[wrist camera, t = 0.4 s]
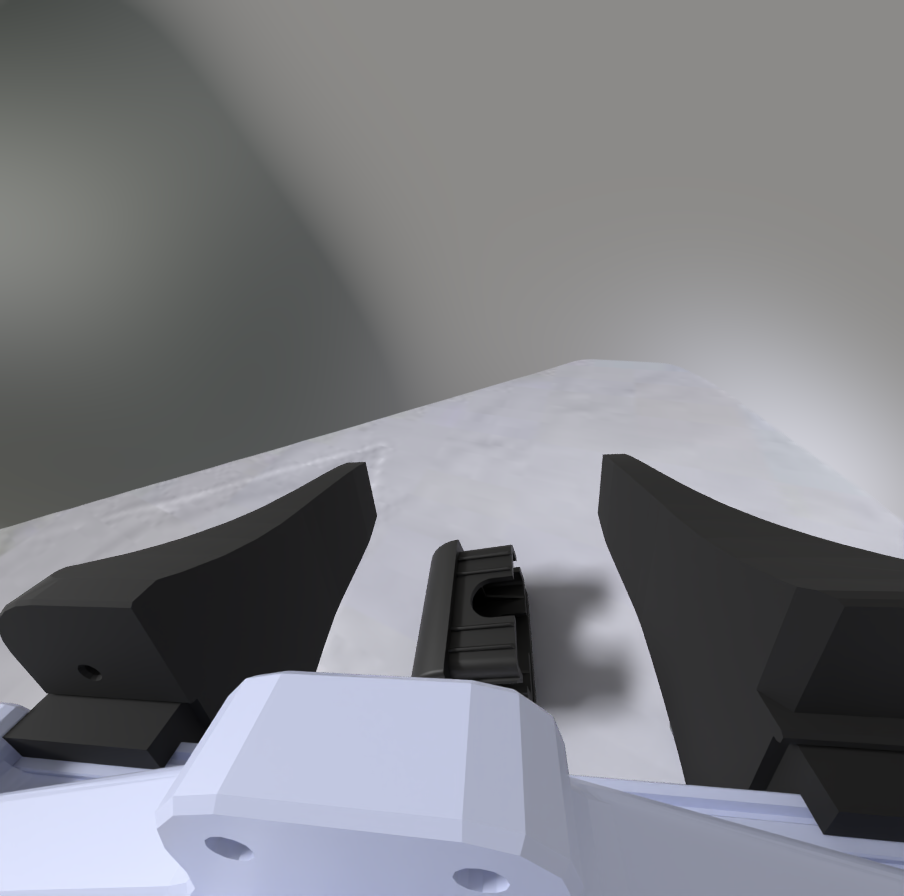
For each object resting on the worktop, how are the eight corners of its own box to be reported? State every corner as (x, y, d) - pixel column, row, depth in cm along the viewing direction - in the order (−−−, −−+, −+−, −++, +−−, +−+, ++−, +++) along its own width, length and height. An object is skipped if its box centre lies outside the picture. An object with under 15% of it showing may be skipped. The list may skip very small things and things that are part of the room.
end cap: (447, 593, 33) (421, 543, 30) (527, 585, 32) (508, 530, 28) (432, 725, 25) (393, 677, 22) (537, 723, 23) (514, 671, 20)
